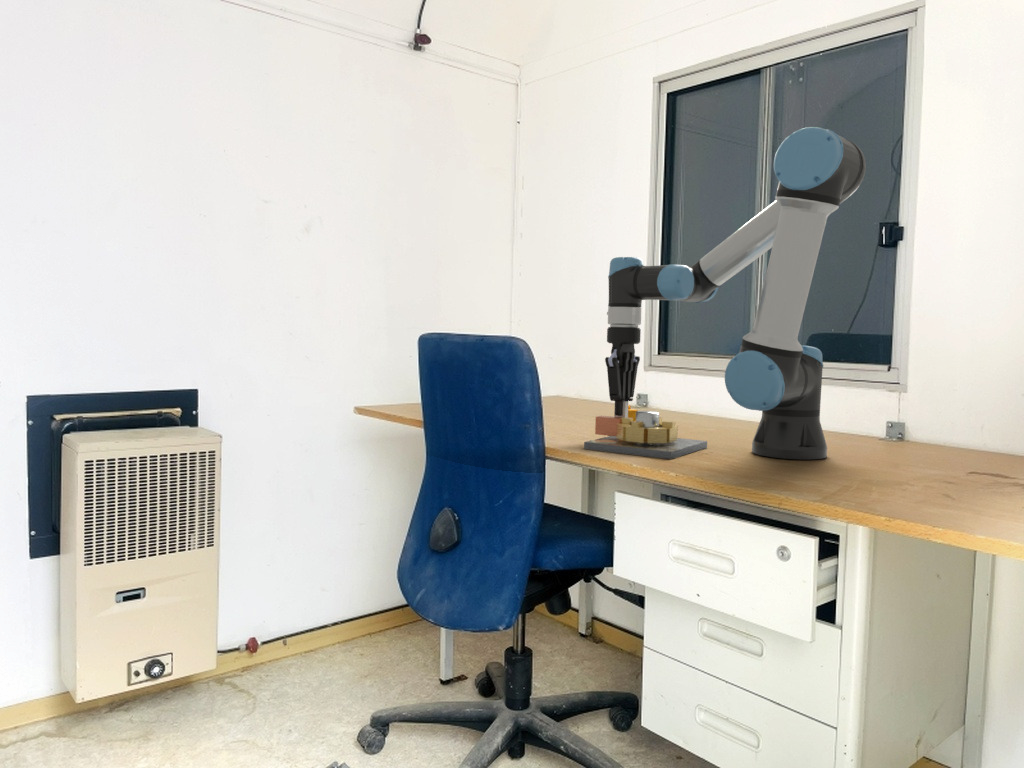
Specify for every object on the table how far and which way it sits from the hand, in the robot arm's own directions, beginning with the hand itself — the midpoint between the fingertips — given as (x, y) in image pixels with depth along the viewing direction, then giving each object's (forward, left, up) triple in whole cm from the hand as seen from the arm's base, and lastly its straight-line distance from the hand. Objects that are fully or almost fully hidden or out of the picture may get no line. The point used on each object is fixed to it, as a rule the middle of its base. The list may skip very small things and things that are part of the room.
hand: (620, 429), depth 184 cm
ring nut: (-6, +4, -1) cm, 7 cm away
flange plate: (-9, +4, -3) cm, 10 cm away
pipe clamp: (+7, -15, -3) cm, 17 cm away
